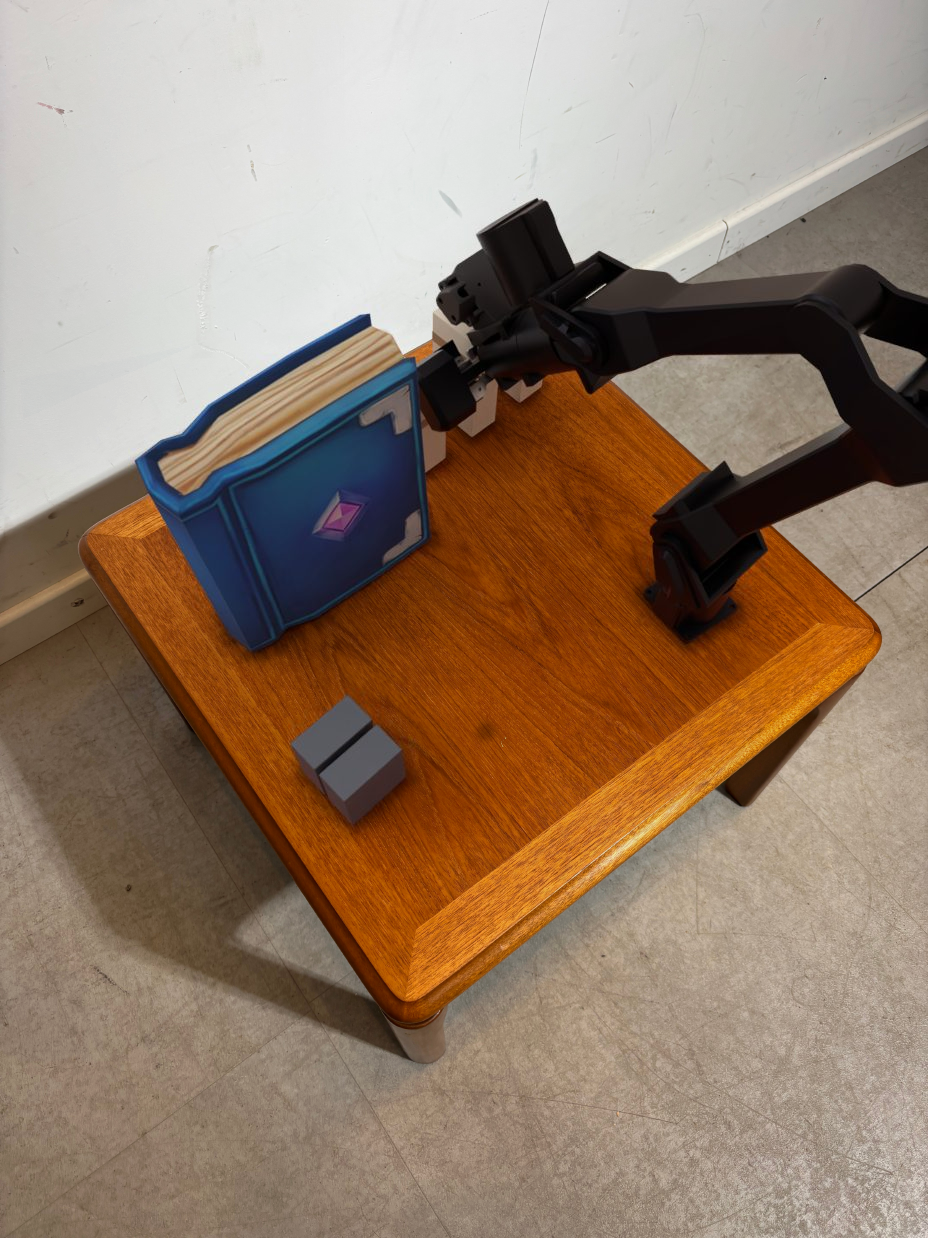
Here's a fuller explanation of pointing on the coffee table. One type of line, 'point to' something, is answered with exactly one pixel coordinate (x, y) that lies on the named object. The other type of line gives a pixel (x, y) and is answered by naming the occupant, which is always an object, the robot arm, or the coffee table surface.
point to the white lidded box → (446, 333)
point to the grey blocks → (350, 759)
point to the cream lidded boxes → (437, 440)
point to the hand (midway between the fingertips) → (454, 361)
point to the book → (298, 482)
